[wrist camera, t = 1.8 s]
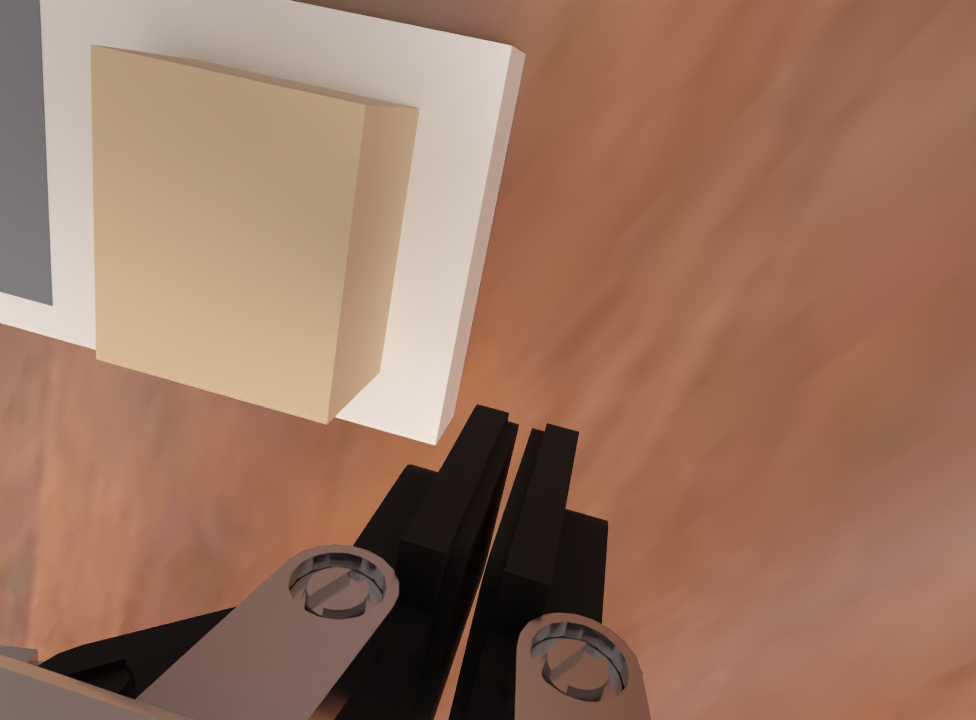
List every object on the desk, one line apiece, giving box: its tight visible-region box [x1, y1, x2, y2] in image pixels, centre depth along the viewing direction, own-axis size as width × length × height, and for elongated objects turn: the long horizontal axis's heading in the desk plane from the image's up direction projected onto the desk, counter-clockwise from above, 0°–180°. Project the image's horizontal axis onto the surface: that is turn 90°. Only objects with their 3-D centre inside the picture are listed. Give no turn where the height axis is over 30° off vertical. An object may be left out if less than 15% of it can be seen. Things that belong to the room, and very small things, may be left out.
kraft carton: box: [90, 44, 420, 424], centre depth 23 cm, size 10×8×5 cm
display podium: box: [0, 0, 526, 445], centre depth 28 cm, size 15×30×3 cm, turn 79°
